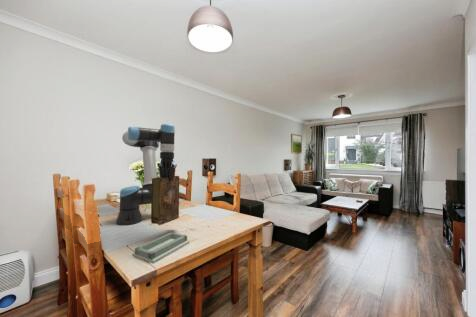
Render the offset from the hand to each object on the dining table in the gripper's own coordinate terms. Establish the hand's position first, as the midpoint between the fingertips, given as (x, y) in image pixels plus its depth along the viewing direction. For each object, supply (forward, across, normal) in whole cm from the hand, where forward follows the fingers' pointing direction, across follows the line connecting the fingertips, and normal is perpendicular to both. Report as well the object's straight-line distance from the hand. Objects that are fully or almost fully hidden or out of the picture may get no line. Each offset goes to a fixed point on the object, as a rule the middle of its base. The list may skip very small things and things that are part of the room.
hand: (166, 193), depth 112 cm
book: (+16, 0, 0) cm, 16 cm away
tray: (+24, +12, -13) cm, 30 cm away
